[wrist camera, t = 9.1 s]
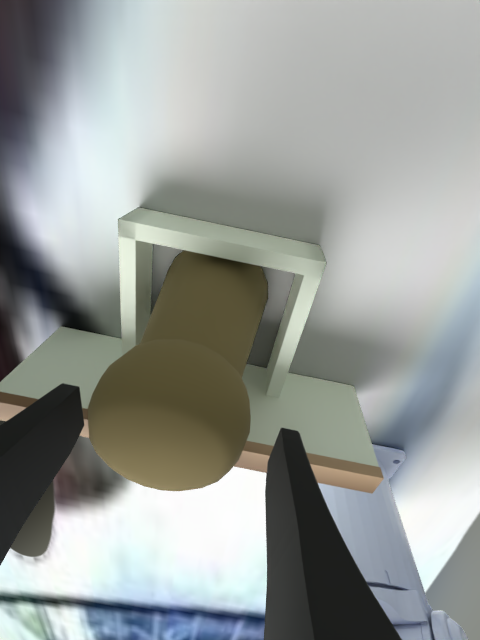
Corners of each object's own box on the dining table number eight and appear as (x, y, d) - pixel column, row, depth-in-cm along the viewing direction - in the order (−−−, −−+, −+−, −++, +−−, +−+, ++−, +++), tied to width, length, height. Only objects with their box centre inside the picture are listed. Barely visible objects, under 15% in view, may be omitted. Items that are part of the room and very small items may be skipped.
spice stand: (346, 399, 22) (372, 493, 16) (63, 341, 21) (-12, 417, 16) (416, 265, 16) (491, 337, 11) (39, 186, 16) (-89, 217, 10)
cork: (207, 216, 16) (114, 340, 7) (290, 290, 18) (308, 469, 8) (146, 293, 19) (19, 456, 9) (223, 350, 20) (180, 536, 11)
